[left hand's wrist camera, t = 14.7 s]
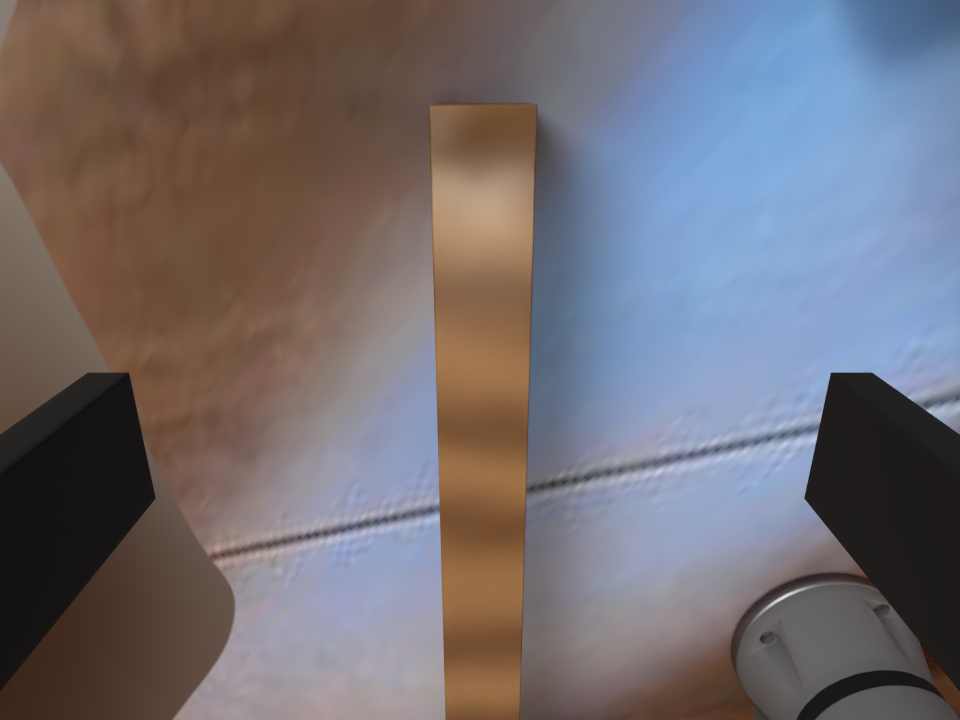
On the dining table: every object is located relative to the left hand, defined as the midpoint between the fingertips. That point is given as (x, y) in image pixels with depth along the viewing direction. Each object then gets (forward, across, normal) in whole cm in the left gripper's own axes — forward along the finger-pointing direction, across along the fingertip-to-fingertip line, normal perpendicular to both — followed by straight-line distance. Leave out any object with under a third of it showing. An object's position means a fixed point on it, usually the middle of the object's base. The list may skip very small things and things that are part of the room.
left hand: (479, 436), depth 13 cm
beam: (+35, 0, -32) cm, 47 cm away
